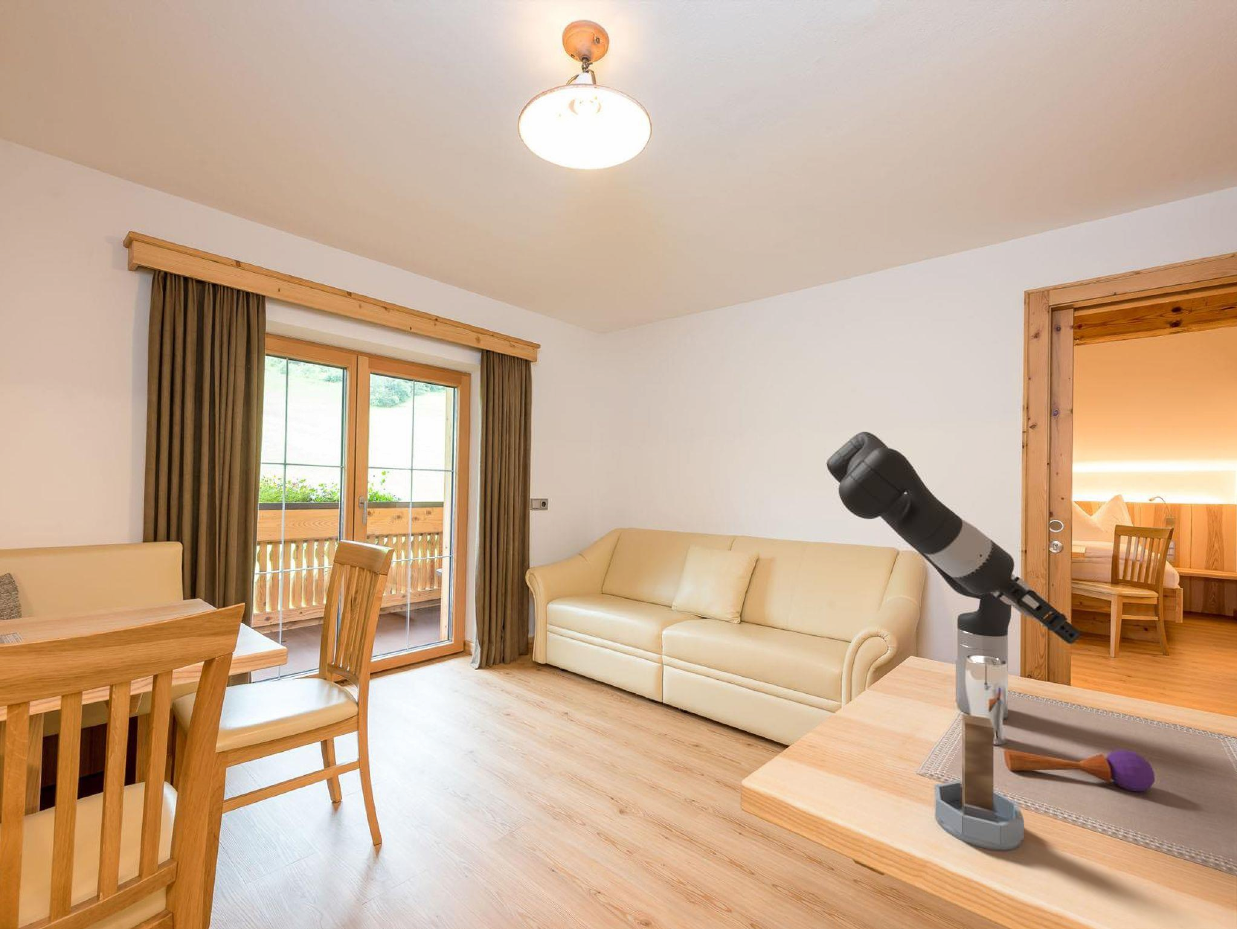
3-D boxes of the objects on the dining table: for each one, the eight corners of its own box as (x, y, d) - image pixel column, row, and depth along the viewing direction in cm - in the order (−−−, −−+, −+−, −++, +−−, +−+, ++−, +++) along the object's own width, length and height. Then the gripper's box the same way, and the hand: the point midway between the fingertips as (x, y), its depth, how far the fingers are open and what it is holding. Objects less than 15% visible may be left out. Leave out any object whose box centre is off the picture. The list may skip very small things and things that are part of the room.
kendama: (999, 737, 101) (1138, 747, 94) (1004, 773, 99) (1146, 786, 93) (1010, 745, 95) (1158, 756, 89) (1015, 783, 94) (1166, 798, 87)
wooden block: (964, 822, 79) (965, 722, 80) (962, 810, 82) (962, 713, 83) (993, 829, 78) (993, 727, 78) (989, 816, 81) (989, 718, 81)
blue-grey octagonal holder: (936, 835, 78) (937, 806, 78) (933, 798, 87) (933, 772, 87) (1028, 860, 73) (1028, 828, 73) (1014, 817, 82) (1014, 790, 83)
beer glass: (969, 742, 107) (969, 662, 107) (961, 727, 113) (962, 652, 113) (1012, 749, 104) (1012, 667, 104) (1002, 733, 110) (1002, 656, 111)
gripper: (1014, 550, 73) (1111, 627, 73) (961, 522, 87) (1043, 588, 87) (972, 592, 74) (1067, 668, 74) (926, 558, 88) (1007, 622, 88)
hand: (1054, 624), depth 81 cm, fingers open, 8 cm apart
